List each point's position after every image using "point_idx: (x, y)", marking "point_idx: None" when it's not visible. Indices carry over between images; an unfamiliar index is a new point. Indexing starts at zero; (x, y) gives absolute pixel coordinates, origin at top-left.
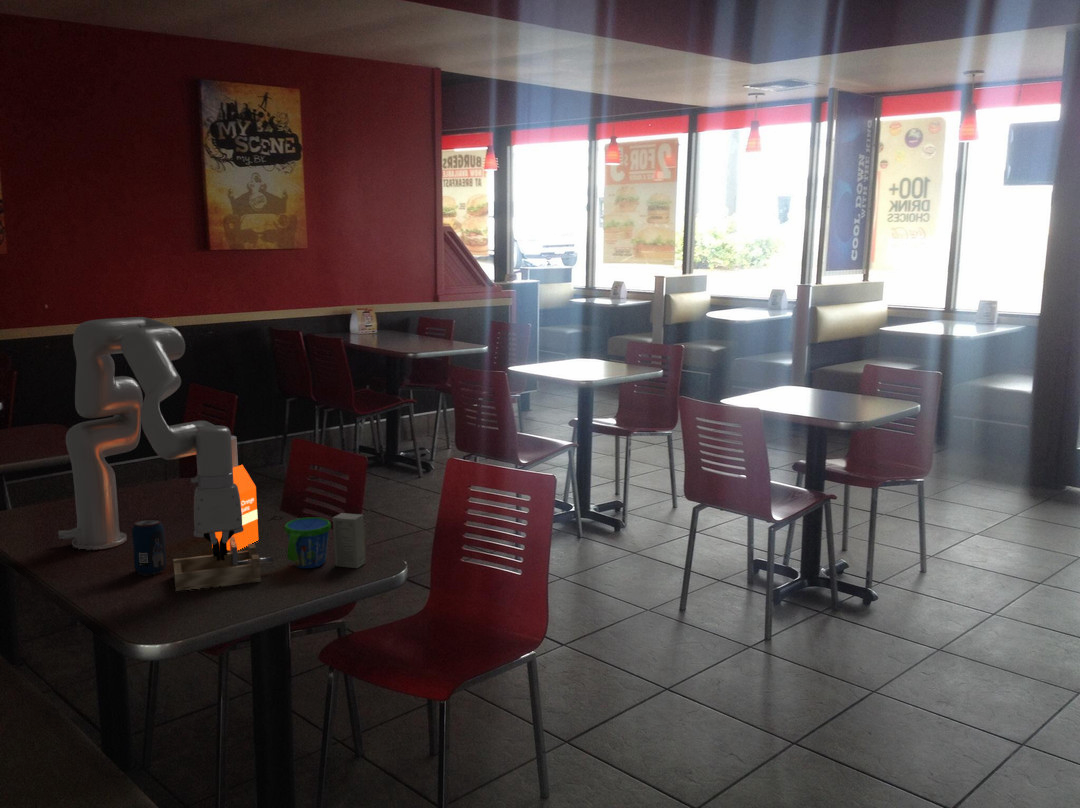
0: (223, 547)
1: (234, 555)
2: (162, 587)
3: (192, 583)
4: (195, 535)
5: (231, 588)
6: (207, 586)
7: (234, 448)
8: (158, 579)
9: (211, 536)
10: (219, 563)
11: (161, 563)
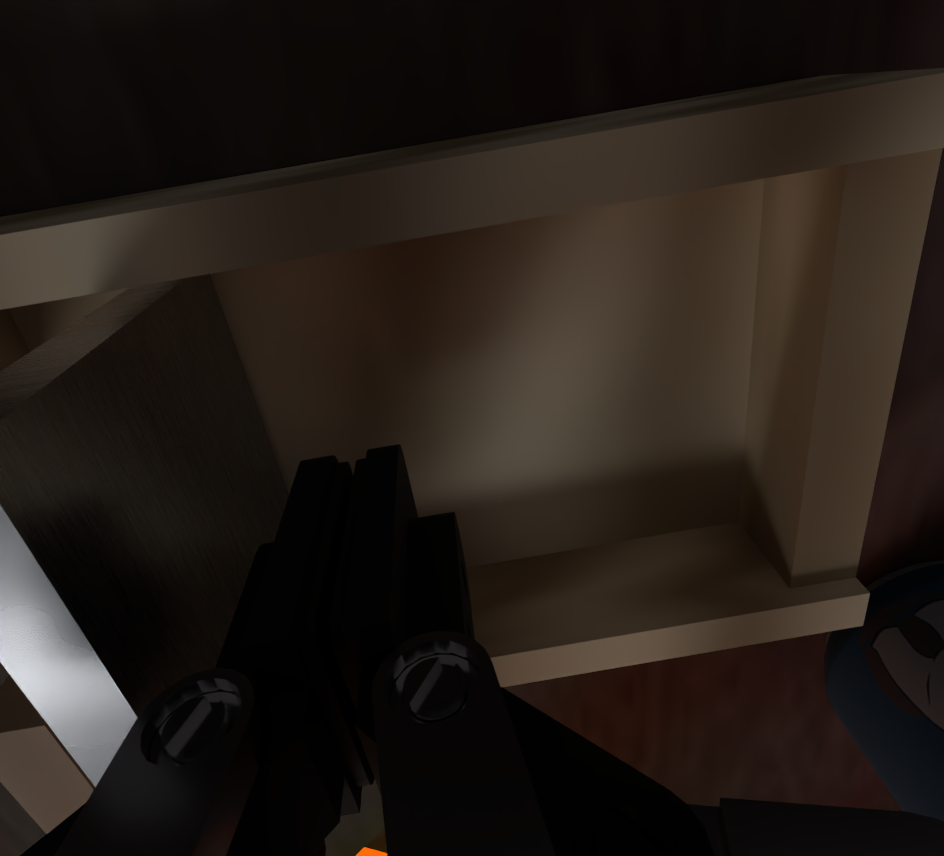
0: (264, 587)
1: (43, 373)
2: None
3: (672, 105)
4: (937, 848)
5: (209, 55)
6: (492, 134)
7: None
8: (896, 469)
9: (499, 810)
10: None
11: (900, 642)
